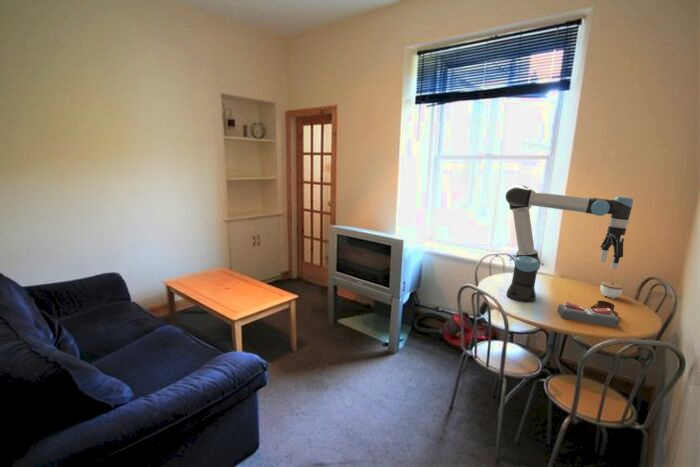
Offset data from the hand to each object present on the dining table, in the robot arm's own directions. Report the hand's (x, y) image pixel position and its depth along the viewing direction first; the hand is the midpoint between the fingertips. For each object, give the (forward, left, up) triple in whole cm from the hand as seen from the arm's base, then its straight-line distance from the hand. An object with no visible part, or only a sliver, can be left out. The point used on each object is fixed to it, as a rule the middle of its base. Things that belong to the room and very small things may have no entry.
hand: (607, 265), depth 183 cm
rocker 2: (-5, -20, -19) cm, 28 cm away
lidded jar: (+13, +25, -25) cm, 37 cm away
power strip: (-11, -20, -25) cm, 34 cm away
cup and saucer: (0, -8, -25) cm, 26 cm away
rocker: (-17, -20, -19) cm, 33 cm away
